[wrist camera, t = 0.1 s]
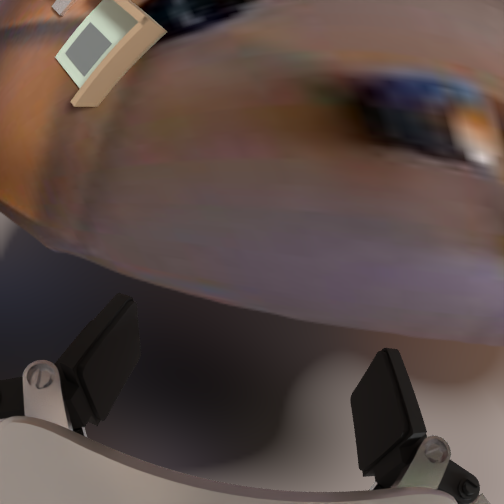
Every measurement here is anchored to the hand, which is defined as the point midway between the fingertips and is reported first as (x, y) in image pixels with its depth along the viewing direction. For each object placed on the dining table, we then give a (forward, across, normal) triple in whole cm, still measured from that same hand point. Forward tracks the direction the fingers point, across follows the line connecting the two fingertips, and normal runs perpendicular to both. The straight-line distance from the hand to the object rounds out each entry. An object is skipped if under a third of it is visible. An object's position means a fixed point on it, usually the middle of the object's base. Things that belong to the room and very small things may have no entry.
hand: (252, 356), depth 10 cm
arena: (+31, +31, -20) cm, 49 cm away
